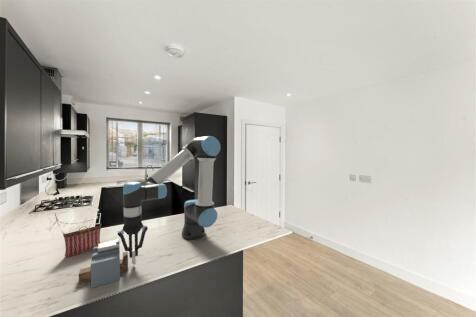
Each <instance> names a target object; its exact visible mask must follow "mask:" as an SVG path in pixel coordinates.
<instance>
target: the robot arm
mask: <svg viewBox="0 0 476 317" xmlns="http://www.w3.org/2000/svg"><path fill="white" fill-rule="evenodd" d="M220 143H221V142H220V141H219V139H217V138H216V137H215V136H211V135H206V136H197V137H194V138H193V139H192V140H190V141H189V142H188V143H187V144H186V145H184V146H183V147H182V148H181V149H182V150H181V151H179V152H178V153H177V154H176V155H175V156H173V157H172V158H171V159H170V160H168V162H166V163H165V164H164V165H163V166H161V167H160V168H159V169H158V170H156V171H155V172H154V173H153V174H151V176H149V177H148V178H147V179H145V180H141V181H139V182H138V181H131V182H130V181H129V182H126V183H124V184H123V189H122V190H123V191H122V199H123V200H122V201H123V204H122V205H123V227H122V229H120V230H118V231H117V236H118V238H119V239H120V241H121V243H122V245H123V249H124V251H125V252H128V258H129V259H131V264H132V266H134V265H136V263H137V262H136V257H138V256H139V250H140V249H141V248H142V247H143V244H144V239H145V237H146V236H145V235H146V232H147V231H148V229H149V228H148V226H147V225H144V223H143V222H142V221H143V220H142V218H143V215H142V202H147V201H154V200H160V199H165V198H166V197H167V194H168V189H167V184H165V182H166V181H167V180H168V179H170V177H172V176H173V175H174V174H175V173H177V172H178V171H179V170H180V169H181V168H182V167H184V166H185V165H186V164H187V163H188V162H189V161H190V160H194V159H195V158H197V160H198V183H197V184H198V187H197V188H198V189H197V199H189V200H185V202H184V203H183V204H184V205H183V209H184V210H183V213H184V215H183V217H184V220H183V221H184V223H183V227H182V231H181V237H182V239H185V240H192V241H193V240H198V239H201V238H203V237H204V236H205V235H206V230H205V228H209V227H212V226H213V225H214V224H215V223H216V222H217V220H218V211H217V210H216V209H215V202H214V201H213V187H214V186H213V184H214V165H215V164H214V163H215V161H216V160H217V155H218V154H219V153H220V152H221V144H220ZM140 231H141V235H140V238H139V237H138V236H139V233H140ZM124 234H126V235H127V236H128V244H127V242H126V238H125V236H124ZM133 236H134V248H133Z"/></svg>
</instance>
